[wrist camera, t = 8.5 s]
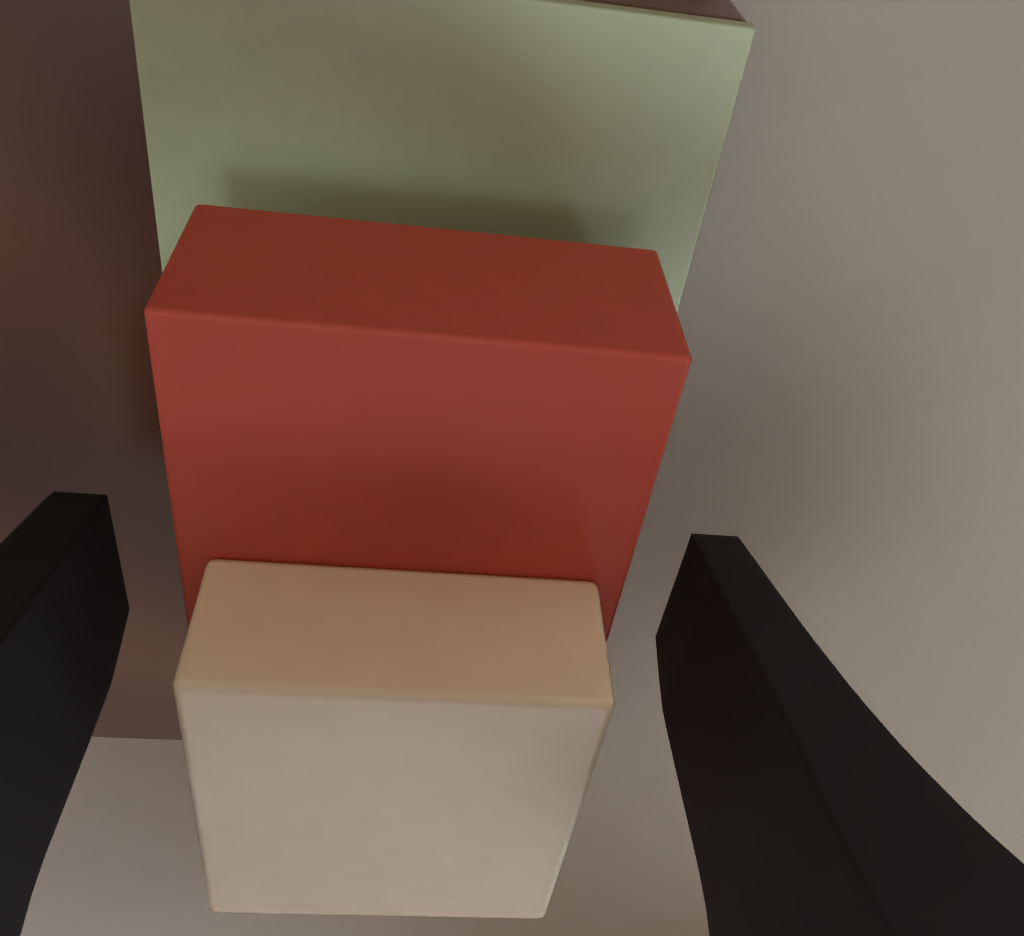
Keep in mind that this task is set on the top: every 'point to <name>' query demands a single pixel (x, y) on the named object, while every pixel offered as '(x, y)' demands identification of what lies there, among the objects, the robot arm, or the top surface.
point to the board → (301, 197)
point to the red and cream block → (401, 547)
